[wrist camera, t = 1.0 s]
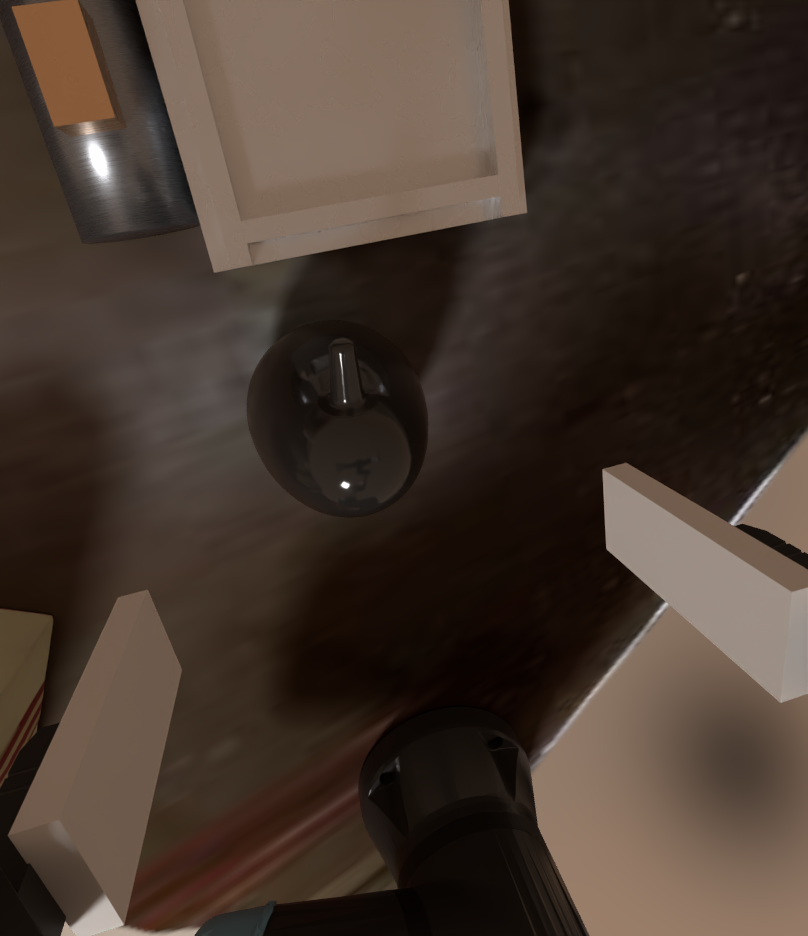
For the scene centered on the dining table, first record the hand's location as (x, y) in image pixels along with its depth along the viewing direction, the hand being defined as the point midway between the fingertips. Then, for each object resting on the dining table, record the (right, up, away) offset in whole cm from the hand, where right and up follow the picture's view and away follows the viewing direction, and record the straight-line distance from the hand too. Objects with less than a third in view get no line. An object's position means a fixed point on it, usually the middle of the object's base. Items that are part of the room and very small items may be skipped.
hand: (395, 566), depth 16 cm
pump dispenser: (-5, +8, +21) cm, 23 cm away
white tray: (-7, +23, +15) cm, 28 cm away
